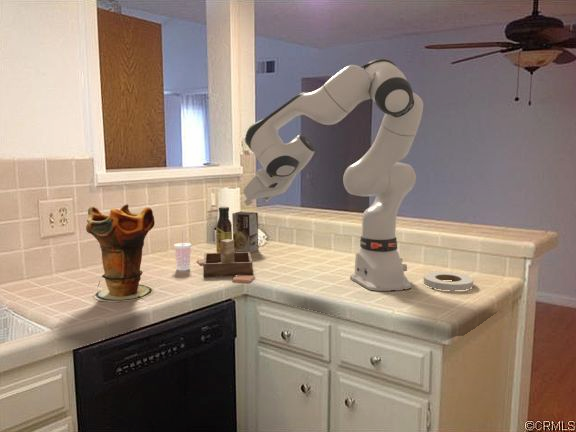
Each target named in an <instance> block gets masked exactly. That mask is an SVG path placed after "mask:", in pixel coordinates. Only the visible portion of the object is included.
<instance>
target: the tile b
mask: <svg viewBox="0 0 576 432" xmlns="http://www.w3.org/2000/svg"><path fill="white" fill-rule="evenodd" d="M255 277H256V276H255V275H237V276H233V278H232V280H231V281H232V283H246V284H251V282H252V281H253V280H254V279H255Z"/></svg>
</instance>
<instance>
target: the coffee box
mask: <svg viewBox="0 0 576 432" xmlns="http://www.w3.org/2000/svg"><path fill="white" fill-rule="evenodd" d="M258 217H259V215H258V212H253V211H238V212H237V211H236V212H232V217H231V218H232V219H231V220H232V240H234V252H235V251H236V252H250V254H251V253H253V252H257V250H258V251H259V221H258V219H259V218H258Z"/></svg>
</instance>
